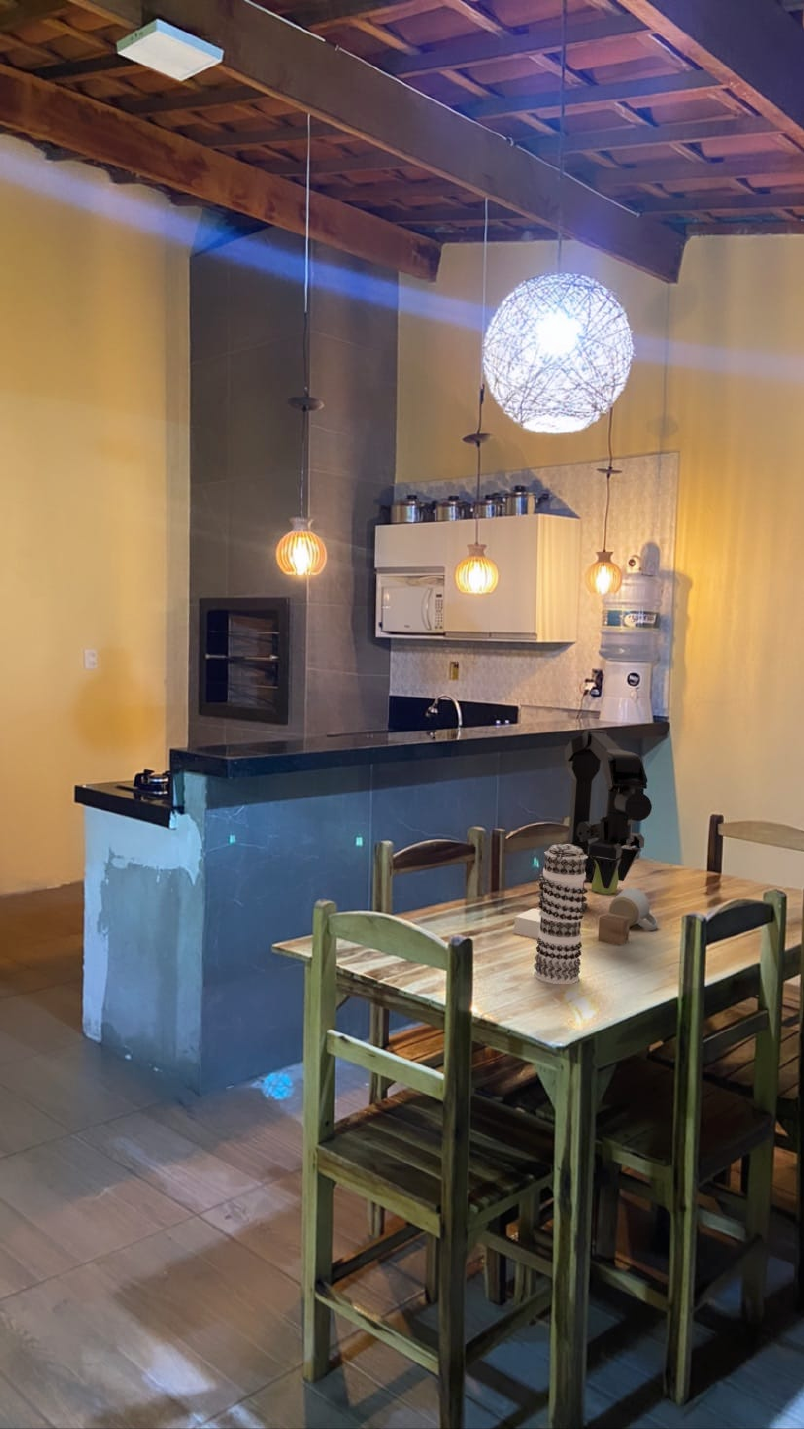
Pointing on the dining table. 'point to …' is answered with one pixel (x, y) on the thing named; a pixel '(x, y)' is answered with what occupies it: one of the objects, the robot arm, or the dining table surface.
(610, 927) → the walnut cube
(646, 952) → the dining table surface
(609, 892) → the plant pot
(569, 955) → the decorative candle
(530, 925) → the cream block
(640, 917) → the ceramic mug
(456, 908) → the dining table surface
